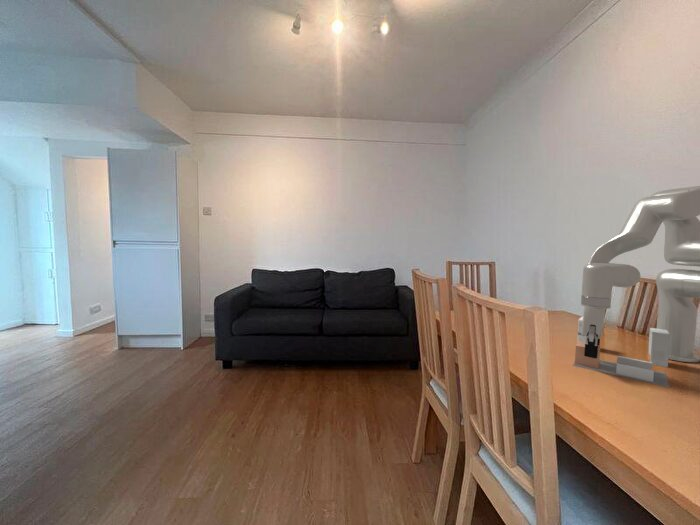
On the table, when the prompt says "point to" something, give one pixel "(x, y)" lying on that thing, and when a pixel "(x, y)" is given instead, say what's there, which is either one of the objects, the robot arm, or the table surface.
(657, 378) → the channel base
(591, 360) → the block
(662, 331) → the skincare box
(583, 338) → the ink box
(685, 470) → the table surface
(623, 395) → the table surface
